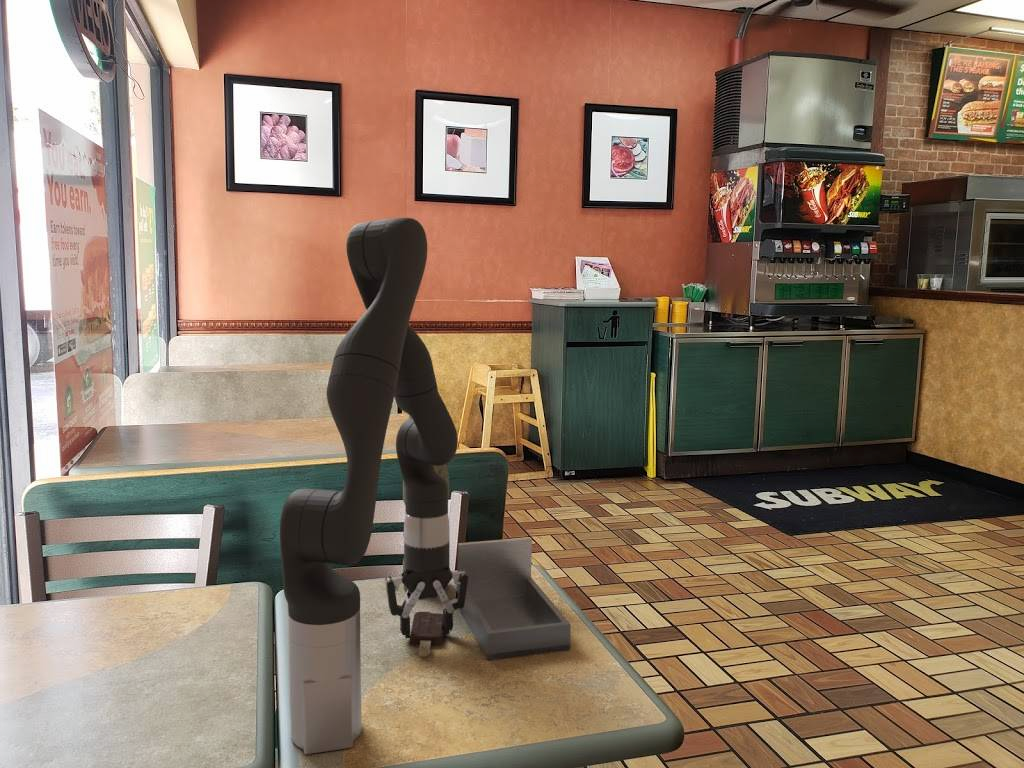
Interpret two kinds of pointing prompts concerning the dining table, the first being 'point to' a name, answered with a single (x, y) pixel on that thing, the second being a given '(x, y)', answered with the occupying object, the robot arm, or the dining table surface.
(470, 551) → the silver tray
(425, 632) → the ice cream bar
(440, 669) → the dining table surface
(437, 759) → the dining table surface
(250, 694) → the dining table surface
